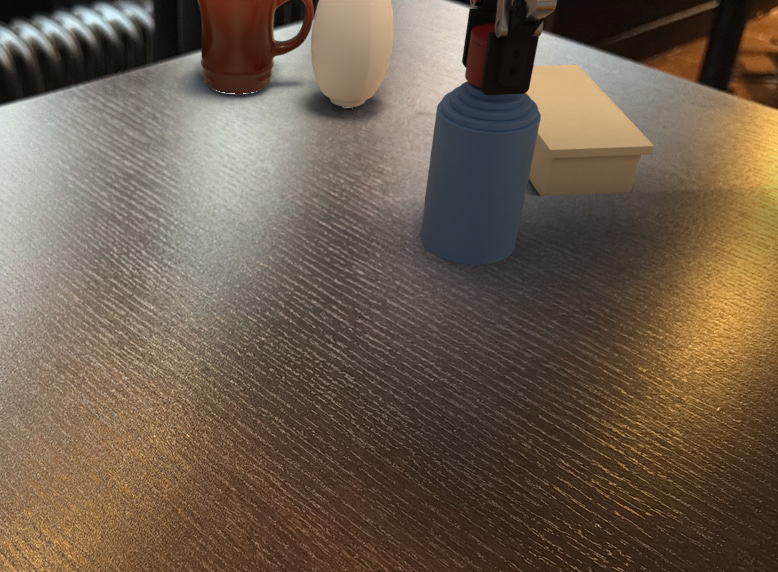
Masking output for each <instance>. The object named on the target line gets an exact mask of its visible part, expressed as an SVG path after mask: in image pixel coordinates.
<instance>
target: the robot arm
mask: <svg viewBox="0 0 778 572" xmlns="http://www.w3.org/2000/svg"><path fill="white" fill-rule="evenodd" d="M469 2H470V3H469V4H470V7H471V8H469V10H468V17H467V22H466V23H467V24H466V31H465V37H464V43H463V50H462V58H461V63H462V65H463V67H464V68H465V69H466V66H467V59H468V52H469V45H470V38H471V32H472V29H473V28H474V27H476V26H478V25H482V24H489V23H496V24H495V32H489V35H488V41H487V48H486V54H485V60H484V67H483V73H482V80H481V86H480V89H481V91H482V92H483V93H484V94H485V95H506V94H524V93H526V92H527V91H528V90H529V87H530V82H531V76H532V71H533V66H535V60H536V55H537V50H538V49H537V48H538V45H539V38H540V36H541V35H542V33H543V28H544V21H545V19H546V18H547V16H549V15H551V13H553V12H554V11H555V10H556V8H557V4H558V0H517V1H516V3H515V4H514V2H515V0H469ZM513 4H514V6H513Z"/></svg>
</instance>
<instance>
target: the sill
mask: <svg viewBox="0 0 778 572" xmlns="http://www.w3.org/2000/svg"><path fill="white" fill-rule="evenodd" d="M526 94H527V95H528V96H529V97H530V98H531V99H532V100H533V101H534V102H535V103H536V105H537V107H538V111H539V112H540V115H541V119H540V124H539V129H538V134H537V139H536V144H535V149H534V154H533V159H532V164H531V169H530V174H529V179H528V181H529V182H530V183H531V184H532V186H533V187H534V189H535V191H536V192H537V193H538V195H539V197H554V196H556V197H557V196H577V195H578V196H579V195H600V194H602V195H603V194H626V193H631V192H632V190H633V189H632V188H633V185H634V181H635V177H636V174H637V171H638V167H639V164H640V160H641V156H646V155H647V156H648V155H649V156H651V155H653V151H654V147H655V145H654V144H653V143H652V142H651V141H650V139H649V138H647V137H646V135H645V134H643V132H642V131H641V129H639V128H638V127H637V126H636V125H635V124H634V122H633V121H631V119H630V118H629V117H628V116H626V114H625V113H624V112H623V111H622V110H621V109H620V108H619V107H618V106H617V104H615V102H614V101H613V100H611V98H610V97H609V96H608V95H607V94H606V93H605V92H604V90H603V89H601V88H600V86H599V85H598V84H597V83H595V81H594V80H593V79H592V78H591V77H590V76H589V75H588V74H587V73H586V72H585V70H583V68H582V67H581V66H580V65H579V64H557V65H556V64H555V65H551V64H550V65H534V66H533V71H532V76H531V82H530V87H529V90H528V91H527V92H526Z"/></svg>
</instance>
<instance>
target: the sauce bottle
mask: <svg viewBox="0 0 778 572" xmlns="http://www.w3.org/2000/svg"><path fill="white" fill-rule="evenodd" d="M392 4H393V3H392V0H318V3H317V5H316V9H315V12H314V16H313V22H312V27H311V35H310V36H311V37H310V55H311V64H312V71H313V73H314V78H315V80H316V83H317V86H318V88H319V89H320V91H321V93H322V94H323V96H325V97H326V98H328V99H329V101H330V102H331V103H332V104H334V105H336V106H338V107H339V106H344V107H355V108H356V107H360V106H362V105H364V103H365V102H366V101H367V100H369V99H371V98H372V97H373V96H375V94H376V93H377V91H378V90H379V88H380V86H381V85H382V83H383V81H384V80H385V78H386V75H387V72H388V70H389V66H390V62H391V58H392V53H393V46H394V36H395V35H394V33H395V28H394V27H395V23H394V21H395V20H394V11H393V5H392Z"/></svg>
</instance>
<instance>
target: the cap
mask: <svg viewBox="0 0 778 572" xmlns="http://www.w3.org/2000/svg"><path fill="white" fill-rule="evenodd" d="M495 24H496V23H489V24H482V25H478V26H476V27H474V28H473V29H472V32H471V38H470V45H469V52H468V59H467V66H466V68H465V73H464V77H465V80H466V82H467V81H468V82H469V83H471V84H473V85H475V86H478V87H480V86H481V80H482V73H483V67H484V60H485V54H486V48H487V41H488V35H489V32H495Z"/></svg>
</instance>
